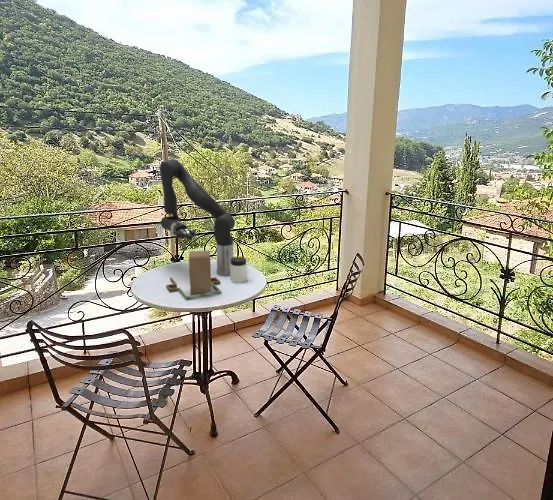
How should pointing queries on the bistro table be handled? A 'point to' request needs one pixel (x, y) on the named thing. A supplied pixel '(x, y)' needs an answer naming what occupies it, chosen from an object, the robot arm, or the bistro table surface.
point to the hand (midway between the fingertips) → (190, 237)
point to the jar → (238, 270)
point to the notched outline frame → (214, 282)
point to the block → (199, 272)
